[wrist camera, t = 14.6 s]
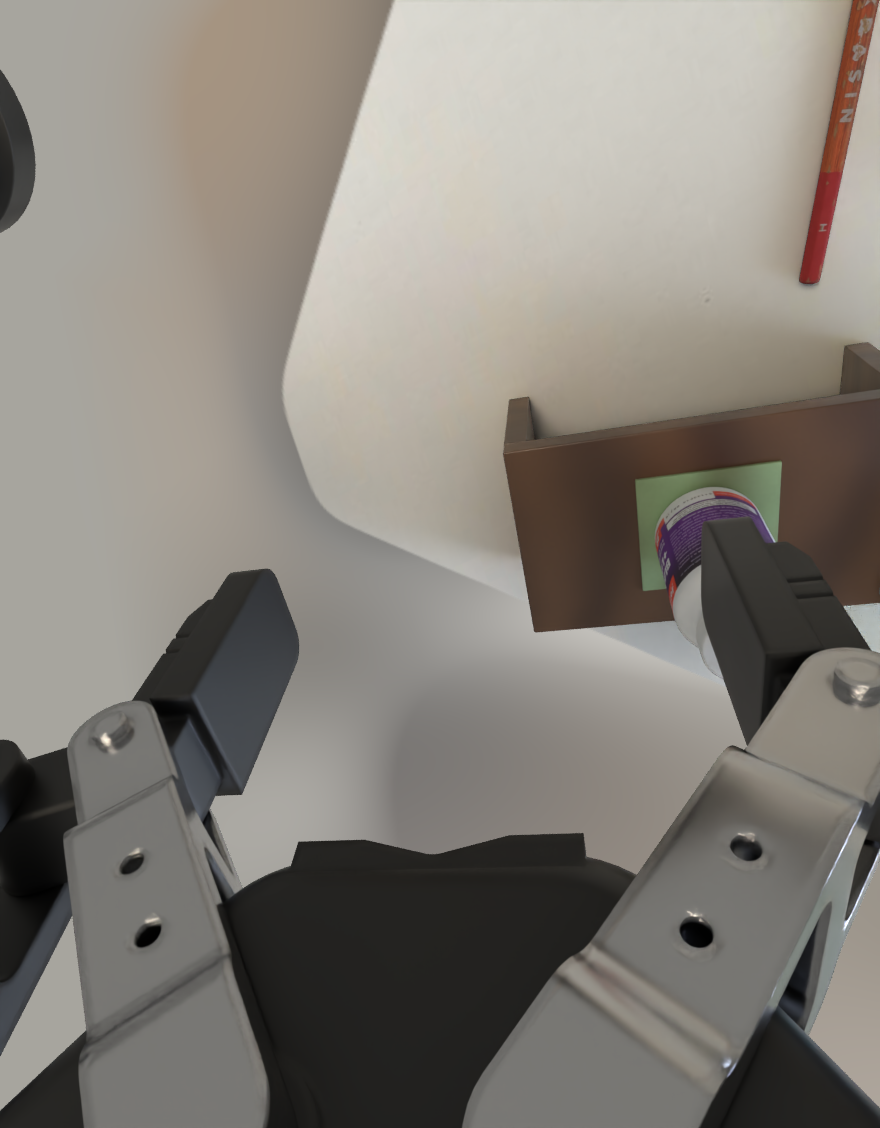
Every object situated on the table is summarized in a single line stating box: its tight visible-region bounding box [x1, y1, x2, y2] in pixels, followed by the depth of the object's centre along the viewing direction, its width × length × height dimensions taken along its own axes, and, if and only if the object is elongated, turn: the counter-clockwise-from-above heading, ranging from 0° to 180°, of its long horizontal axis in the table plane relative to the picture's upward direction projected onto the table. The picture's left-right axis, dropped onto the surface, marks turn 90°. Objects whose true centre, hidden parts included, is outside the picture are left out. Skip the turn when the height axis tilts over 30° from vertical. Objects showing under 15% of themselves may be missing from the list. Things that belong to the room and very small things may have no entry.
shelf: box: [503, 342, 880, 632], centre depth 40 cm, size 20×12×8 cm, turn 102°
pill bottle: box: [655, 487, 775, 679], centre depth 32 cm, size 5×5×10 cm
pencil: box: [799, 0, 879, 284], centre depth 31 cm, size 19×1×1 cm, turn 4°
